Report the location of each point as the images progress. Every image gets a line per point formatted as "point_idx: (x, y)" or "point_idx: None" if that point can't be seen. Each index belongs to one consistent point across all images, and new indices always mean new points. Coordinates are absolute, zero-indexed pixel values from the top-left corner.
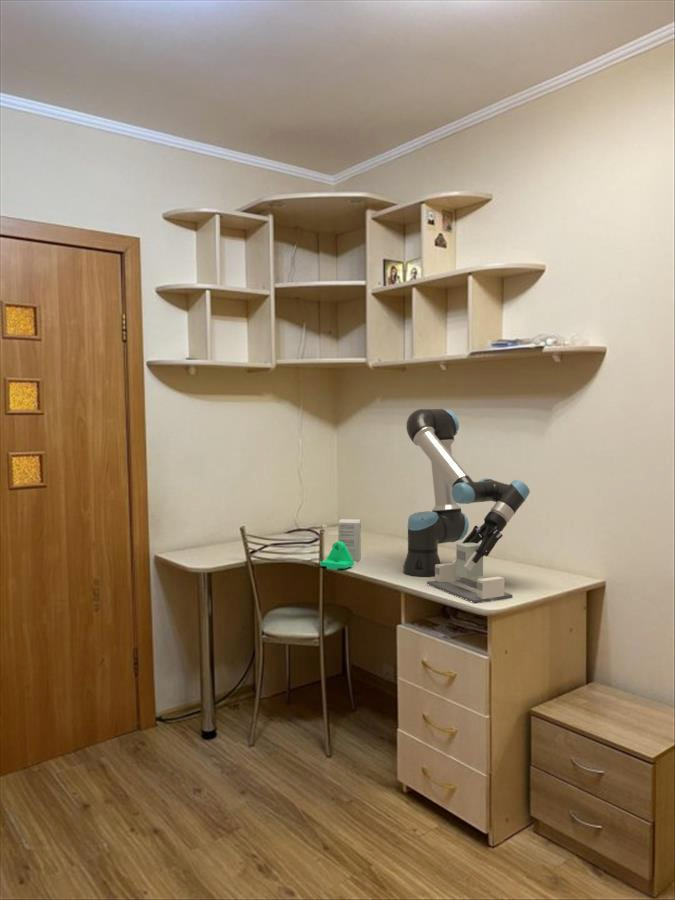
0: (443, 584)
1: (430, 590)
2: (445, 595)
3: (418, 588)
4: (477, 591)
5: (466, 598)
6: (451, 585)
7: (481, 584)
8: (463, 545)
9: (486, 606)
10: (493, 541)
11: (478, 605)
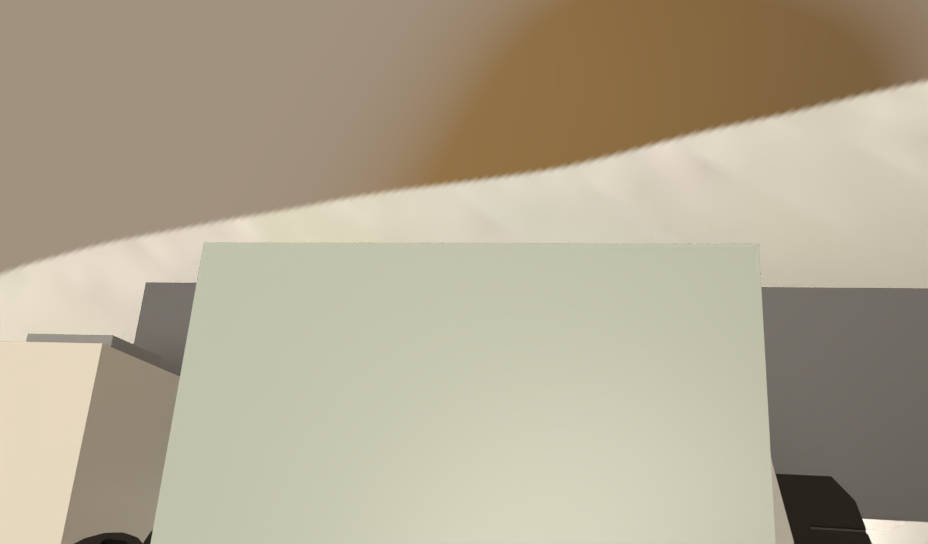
0: (872, 395)
1: (785, 187)
2: (530, 215)
3: (925, 117)
4: (179, 378)
5: None
6: (782, 458)
7: (35, 338)
8: (424, 296)
9: (30, 330)
10: None
11: (94, 286)
